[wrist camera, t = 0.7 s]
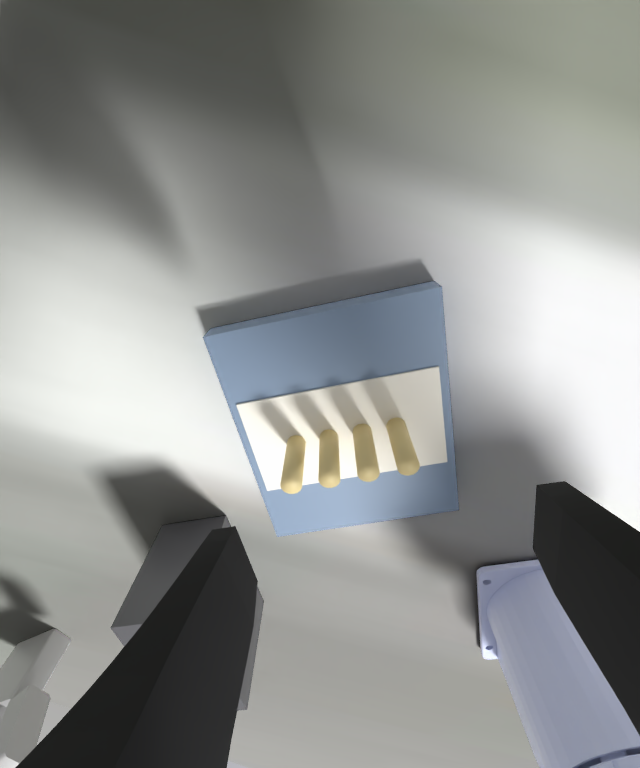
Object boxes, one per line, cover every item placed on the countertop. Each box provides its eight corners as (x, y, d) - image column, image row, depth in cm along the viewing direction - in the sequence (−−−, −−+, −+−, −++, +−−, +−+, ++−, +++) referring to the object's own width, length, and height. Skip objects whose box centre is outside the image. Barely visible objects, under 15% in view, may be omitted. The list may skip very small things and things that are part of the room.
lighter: (34, 656, 29) (-63, 807, 22) (16, 644, 28) (-90, 796, 21) (102, 628, 27) (21, 782, 20) (84, 615, 27) (-5, 770, 19)
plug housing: (225, 515, 22) (193, 617, 17) (263, 601, 26) (247, 709, 20) (162, 525, 23) (110, 627, 17) (208, 608, 26) (176, 716, 21)
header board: (452, 494, 21) (480, 560, 17) (279, 520, 22) (269, 588, 18) (434, 280, 16) (468, 307, 12) (210, 328, 17) (176, 366, 13)
